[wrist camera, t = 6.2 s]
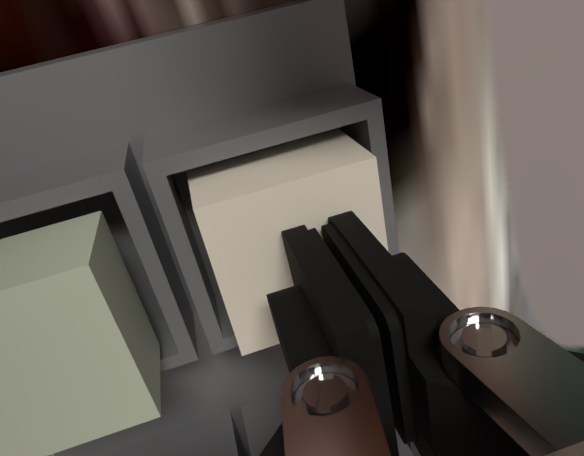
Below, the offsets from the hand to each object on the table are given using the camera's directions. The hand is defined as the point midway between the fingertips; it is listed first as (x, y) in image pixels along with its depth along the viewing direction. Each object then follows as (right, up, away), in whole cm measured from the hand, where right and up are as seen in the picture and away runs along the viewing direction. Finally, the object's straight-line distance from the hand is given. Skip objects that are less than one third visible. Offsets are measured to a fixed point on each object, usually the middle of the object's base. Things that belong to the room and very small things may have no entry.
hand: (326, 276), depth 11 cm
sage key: (-7, -1, 0) cm, 7 cm away
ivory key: (-1, +1, +2) cm, 3 cm away
